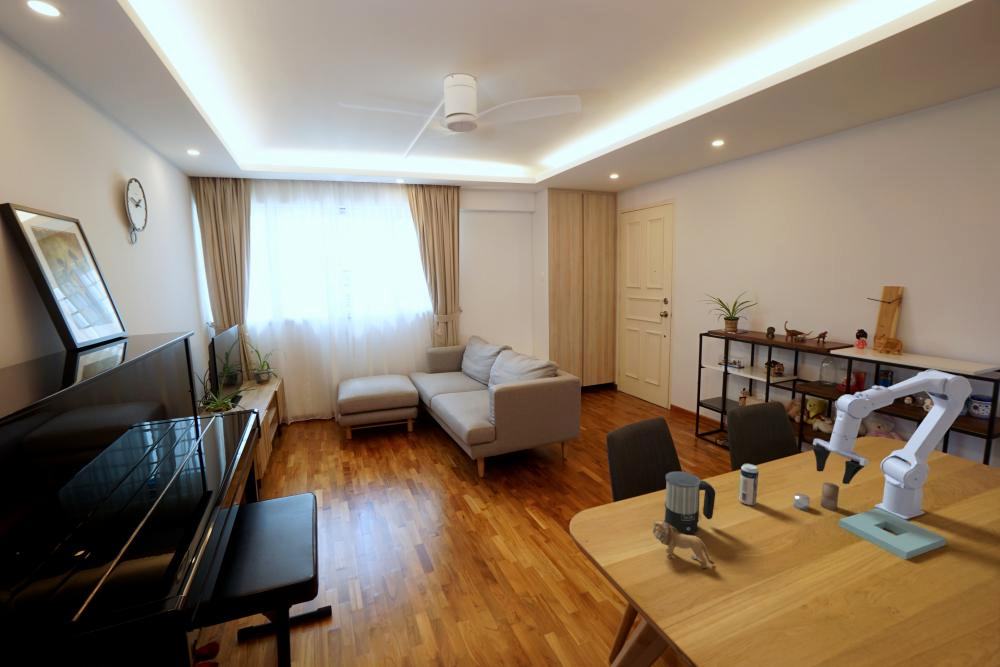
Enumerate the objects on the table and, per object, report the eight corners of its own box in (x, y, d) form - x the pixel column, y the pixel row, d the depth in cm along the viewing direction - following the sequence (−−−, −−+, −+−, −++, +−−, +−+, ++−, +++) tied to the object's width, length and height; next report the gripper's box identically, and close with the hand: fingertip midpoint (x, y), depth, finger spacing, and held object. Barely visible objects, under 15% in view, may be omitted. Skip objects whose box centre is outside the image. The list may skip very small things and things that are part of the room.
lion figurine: (651, 558, 113) (652, 525, 112) (652, 546, 118) (653, 514, 117) (714, 571, 108) (717, 537, 107) (713, 558, 113) (715, 525, 112)
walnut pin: (826, 502, 140) (828, 481, 139) (839, 508, 136) (842, 487, 135) (817, 505, 138) (819, 483, 137) (831, 511, 134) (833, 489, 133)
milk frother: (679, 539, 121) (682, 488, 119) (641, 510, 136) (643, 464, 133) (718, 528, 126) (722, 479, 124) (678, 501, 141) (680, 457, 139)
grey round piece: (799, 502, 140) (800, 492, 139) (811, 509, 136) (812, 498, 135) (790, 505, 138) (791, 494, 138) (802, 511, 134) (803, 500, 134)
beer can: (758, 507, 137) (761, 470, 135) (741, 505, 138) (744, 469, 136) (752, 499, 142) (755, 463, 140) (736, 497, 143) (739, 462, 141)
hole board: (876, 514, 133) (877, 508, 132) (945, 544, 118) (946, 538, 117) (838, 525, 127) (839, 519, 126) (905, 559, 112) (906, 552, 112)
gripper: (811, 425, 138) (800, 466, 140) (862, 445, 124) (849, 489, 127) (826, 425, 140) (815, 465, 142) (877, 445, 127) (864, 488, 129)
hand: (832, 477), depth 135 cm, fingers open, 7 cm apart
